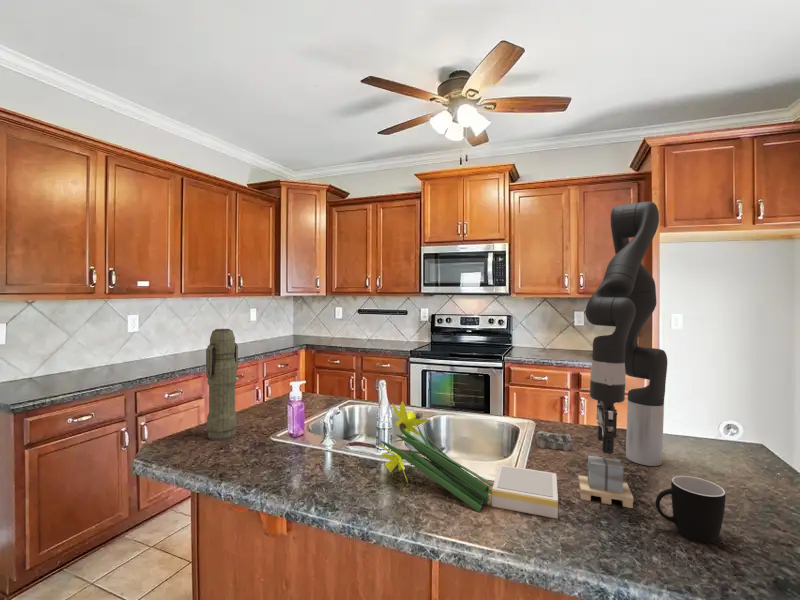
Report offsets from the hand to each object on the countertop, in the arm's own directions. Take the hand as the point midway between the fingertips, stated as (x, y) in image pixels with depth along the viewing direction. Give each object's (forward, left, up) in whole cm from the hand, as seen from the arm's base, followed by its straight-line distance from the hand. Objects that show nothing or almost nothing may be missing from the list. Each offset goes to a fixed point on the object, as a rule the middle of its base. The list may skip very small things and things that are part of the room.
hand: (605, 446), depth 99 cm
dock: (+8, -18, -12) cm, 23 cm away
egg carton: (-30, -11, -13) cm, 35 cm away
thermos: (+2, -114, -12) cm, 114 cm away
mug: (+11, +14, -12) cm, 22 cm away
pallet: (0, 0, -12) cm, 12 cm away
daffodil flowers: (+9, -40, -12) cm, 43 cm away
